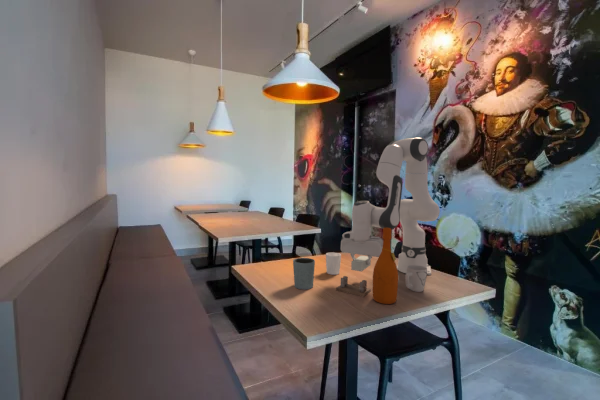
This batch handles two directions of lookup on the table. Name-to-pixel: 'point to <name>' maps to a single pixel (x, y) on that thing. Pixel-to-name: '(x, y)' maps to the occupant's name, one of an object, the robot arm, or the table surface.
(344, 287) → the peg stand
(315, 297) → the table surface
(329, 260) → the white cup
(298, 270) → the dark grey cup
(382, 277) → the wine bottle
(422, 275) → the mug
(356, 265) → the white rectangular block
